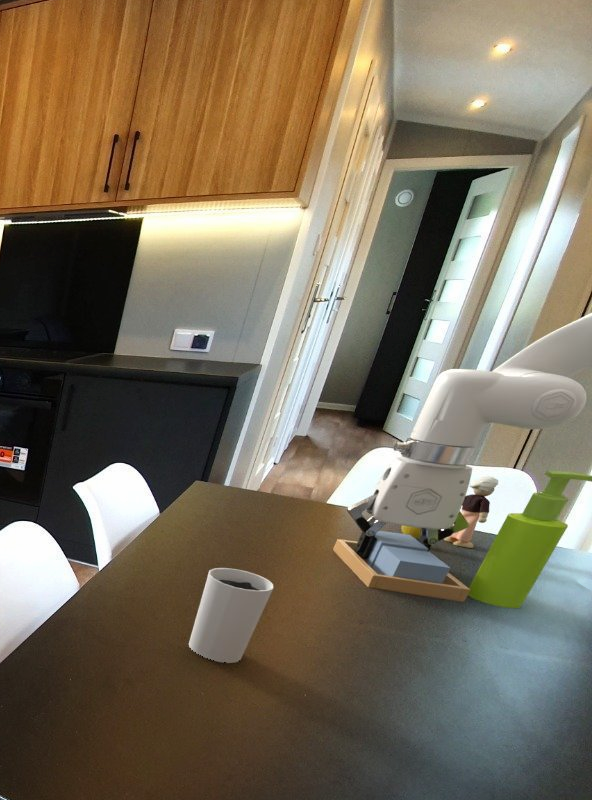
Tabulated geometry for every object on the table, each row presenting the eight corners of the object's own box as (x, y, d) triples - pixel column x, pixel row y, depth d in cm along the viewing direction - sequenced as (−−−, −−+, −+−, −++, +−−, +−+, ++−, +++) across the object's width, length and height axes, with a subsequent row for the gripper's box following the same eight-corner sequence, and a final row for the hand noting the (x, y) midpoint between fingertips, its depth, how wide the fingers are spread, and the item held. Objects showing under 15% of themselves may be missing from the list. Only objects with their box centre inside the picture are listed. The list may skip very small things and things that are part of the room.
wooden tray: (413, 563, 108) (420, 550, 107) (462, 604, 94) (470, 589, 93) (331, 552, 112) (337, 538, 111) (366, 589, 98) (373, 575, 97)
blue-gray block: (398, 559, 108) (410, 534, 106) (415, 574, 102) (428, 548, 100) (355, 553, 110) (366, 528, 108) (370, 567, 104) (381, 542, 102)
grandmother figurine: (486, 550, 115) (522, 483, 110) (465, 549, 115) (500, 482, 110) (447, 535, 122) (479, 471, 117) (427, 534, 122) (458, 470, 117)
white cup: (193, 632, 84) (216, 563, 80) (251, 651, 80) (279, 580, 76) (177, 649, 80) (201, 577, 76) (237, 671, 76) (266, 596, 71)
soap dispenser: (535, 616, 91) (616, 481, 83) (471, 603, 94) (542, 473, 86) (521, 601, 96) (596, 472, 87) (459, 589, 99) (526, 464, 90)
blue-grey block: (416, 577, 102) (429, 551, 100) (436, 594, 96) (450, 567, 94) (370, 570, 104) (382, 545, 102) (387, 587, 98) (400, 560, 96)
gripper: (376, 451, 98) (330, 558, 106) (523, 466, 92) (463, 578, 100) (359, 442, 104) (317, 543, 112) (495, 455, 98) (441, 561, 106)
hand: (386, 559), depth 106 cm, fingers closed on blue-gray block, 6 cm apart
